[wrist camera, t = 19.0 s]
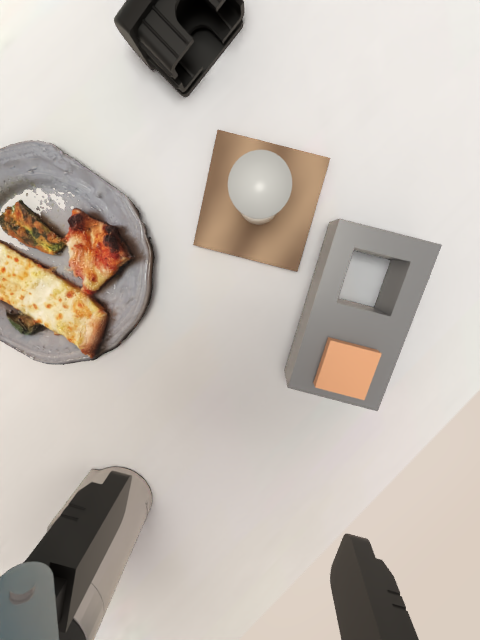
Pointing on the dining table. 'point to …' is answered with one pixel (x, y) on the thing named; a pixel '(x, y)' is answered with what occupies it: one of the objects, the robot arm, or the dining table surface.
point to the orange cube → (346, 368)
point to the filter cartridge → (259, 185)
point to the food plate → (69, 259)
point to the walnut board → (278, 234)
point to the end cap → (180, 35)
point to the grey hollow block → (360, 306)
